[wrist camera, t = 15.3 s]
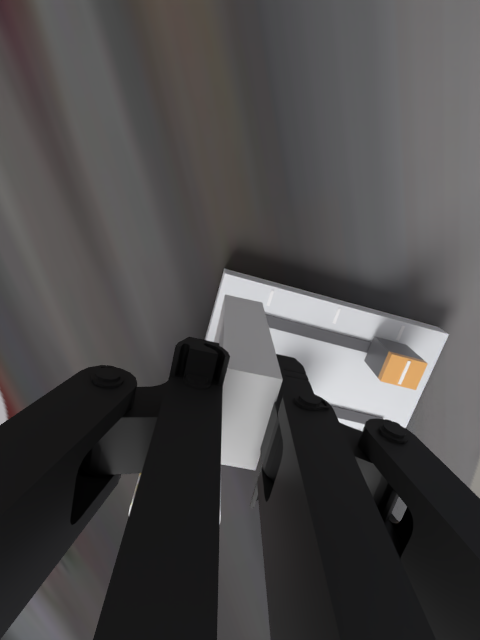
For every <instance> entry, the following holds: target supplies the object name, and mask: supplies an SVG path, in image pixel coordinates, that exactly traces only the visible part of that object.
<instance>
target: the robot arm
mask: <svg viewBox="0 0 480 640" xmlns="http://www.w3.org/2000/svg"><path fill="white" fill-rule="evenodd" d="M308 380H309V379H308V377H307V375H306V372H305V369H304V367H303V365H302V364H301V363H300V362H299V361H297V360H296V359H295V358H293V357H288V356H284V355H279V354H276V352H275V348H274V345H273V341H272V337H271V333H270V330H269V326H268V322H267V318H266V315H265V311H264V307H263V303H262V302H257V301H253V300H249V299H244V298H240V297H235V296H231V295H226V294H225V296H224V301H223V305H222V309H221V313H220V318H219V322H218V326H217V331H216V335H215V339H214V342H212V341H207V340H202V339H197V338H193V337H188V338H186V339H185V340H183V341H180V342H179V343H178V344H177V345H176V347H175V352H174V357H173V362H172V366H171V371H170V376H169V380H168V381H167V382H166V383H164V384H161V385H158V386H153V387H137V381H136V378H135V377H134V376H133V375H132V374H131V373H130V372H127V371H125V370H123V369H121V368H116V367H114V366H108V365H107V366H106V365H100V366H95V367H88V368H86V369H84V370H81V371H80V372H78V373H77V374H75V375H74V376H72V377H71V378H69V379H68V380H66V381H65V382H63V383H62V384H60V385H59V386H57V387H56V388H54V389H53V390H52V391H50V392H49V393H47V394H46V395H44V396H43V397H41V398H40V399H38V400H37V401H35V402H34V403H32V404H31V405H29V406H28V407H26V408H25V409H23V410H22V411H20V412H19V413H18V414H16V415H15V416H13V417H12V418H10V419H9V420H7V421H6V422H4V423H3V424H1V425H0V639H1V638H2V636H3V635H4V634H5V632H6V631H7V630H8V628H9V627H10V626H11V624H12V623H13V622H14V620H15V619H16V618H17V617H18V615H19V614H20V613H21V611H22V610H23V609H24V607H25V606H26V605H27V603H28V602H29V601H30V599H31V598H32V597H33V595H34V594H35V593H36V591H37V590H38V589H39V587H40V586H41V585H42V583H43V582H44V581H45V579H46V578H47V577H48V575H49V574H50V573H51V571H52V570H53V569H54V567H55V566H56V565H57V564H58V562H59V561H60V560H61V558H62V557H63V556H64V554H65V553H66V552H67V550H68V549H69V548H70V546H71V545H72V544H73V542H74V541H75V540H76V538H77V537H78V536H79V534H80V533H81V532H82V530H83V529H84V528H85V526H86V525H87V524H88V522H89V521H90V520H91V518H92V517H93V516H94V514H95V513H96V512H97V511H98V509H99V508H100V507H101V505H102V504H103V503H104V501H105V500H106V499H107V497H108V496H109V495H110V493H111V492H112V491H113V489H114V488H115V487H116V485H117V484H118V482H119V479H120V477H121V474H131V473H141V476H140V480H139V483H138V487H137V490H136V494H135V497H134V500H133V504H132V507H131V511H130V514H129V518H128V521H127V525H126V528H125V531H124V535H123V538H122V542H121V545H120V549H119V552H118V556H117V559H116V563H115V566H114V569H113V573H112V576H111V580H110V583H109V587H108V590H107V594H106V597H105V600H104V604H103V607H102V611H101V614H100V618H99V621H98V625H97V628H96V632H95V635H94V638H93V640H217V609H218V566H219V523H220V480H221V464H223V465H229V466H234V467H240V468H245V469H251V470H256V467H257V464H258V460H259V457H260V454H261V460H262V466H261V470H260V473H259V476H258V480H257V483H256V486H255V489H254V493H253V496H252V499H251V503H250V507H251V508H254V506H255V503H256V501H257V500H259V512H260V523H261V534H262V546H263V557H264V568H265V580H266V591H267V602H268V614H269V625H270V636H271V640H480V498H478V497H477V496H476V495H475V494H474V493H473V492H472V491H471V490H470V489H469V488H468V487H467V486H466V485H465V484H464V483H463V482H462V481H461V480H460V479H459V478H458V477H457V476H456V475H455V474H454V473H453V472H452V471H451V470H450V469H449V468H448V467H447V466H446V465H445V464H444V463H443V462H442V461H441V460H440V459H439V458H438V457H437V456H435V455H434V454H433V453H432V452H431V451H430V450H429V449H428V448H427V447H426V446H425V445H424V444H423V443H422V442H421V441H420V440H419V439H418V438H417V437H416V436H415V435H414V434H412V433H411V432H410V431H409V430H407V429H406V428H404V427H402V426H400V424H398V423H396V422H394V421H393V422H392V421H391V420H388V419H385V420H384V419H379V418H375V419H369V420H368V421H366V423H365V425H364V428H363V431H360V430H357V429H355V428H352V427H349V426H347V425H344V424H342V423H340V422H339V420H338V418H337V416H336V414H335V411H334V409H333V408H332V406H331V405H330V404H329V403H328V402H327V401H326V400H324V399H323V398H321V397H319V396H317V395H315V394H314V392H313V390H312V387H311V384H310V382H309V381H308ZM398 497H400V498H401V499H402V500H403V502H404V503H405V504H406V505H407V509H406V511H405V513H404V515H403V518H402V520H401V521H400V522H399V521H398V520H396V518H395V517H394V516H393V514H392V511H393V508H394V506H395V504H396V502H397V499H398Z"/></svg>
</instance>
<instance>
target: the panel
mask: <svg viewBox="0 0 480 640" xmlns="http://www.w3.org/2000/svg"><path fill="white" fill-rule="evenodd" d="M225 294H226V295H231V296H235V297H240V298H244V299H249V300H253V301H257V302H262V303H263V307H264V311H265V315H266V318H267V322H268V326H269V330H270V333H271V337H272V341H273V345H274V348H275V352H276V354H279V355H284V356H288V357H293V358H295V359H296V360H297V361H299V362H300V363H301V364H302V365H303V367H304V369H305V372H306V375H307V377H308V379H309V380H308V381H309V382H310V384H311V387H312V390H313V392H314V394H315V395H317V396H319V397H321V398H323V399H324V400H326V401H327V402H328V403H329V404H330V405H331V406H332V408H333V409H334V411H335V414H336V416H337V418H338V420H339V422H340V423H342V424H344V425H347V426H349V427H352V428H355V429H357V430H360V431H363V428H364V425H365V423H366V421H368V420H369V419H375V418H379V419H384V420H385V419H388V420H391V421H392V422H393V421H394V422H396V423H398V424H400V426H402V427H404V428H406V426H407V424H408V422H409V420H410V417H411V415H412V413H413V411H414V409H415V407H416V405H417V402H418V400H419V398H420V396H421V394H422V392H423V389H424V387H425V385H426V383H427V381H428V379H429V376H430V374H431V372H432V370H433V368H434V366H435V363H436V361H437V359H438V357H439V355H440V353H441V350H442V348H443V346H444V344H445V342H446V340H447V337H448V335H449V334H448V333H446V332H445V331H443V330H442V329H440V328H439V327H437V326H433V325H430V324H426V323H422V322H419V321H415V320H411V319H408V318H404V317H400V316H397V315H393V314H389V313H386V312H382V311H378V310H375V309H371V308H367V307H364V306H360V305H356V304H353V303H349V302H345V301H342V300H338V299H334V298H331V297H327V296H323V295H320V294H316V293H312V292H309V291H305V290H302V289H298V288H294V287H291V286H287V285H283V284H280V283H276V282H272V281H269V280H265V279H261V278H258V277H254V276H250V275H247V274H243V273H239V272H236V271H232V270H228V269H225V268H224V271H223V275H222V279H221V282H220V286H219V289H218V293H217V297H216V300H215V304H214V308H213V311H212V315H211V318H210V322H209V326H208V329H207V333H206V337H205V340H207V341H212V342H214V339H215V335H216V331H217V326H218V322H219V318H220V313H221V309H222V305H223V301H224V296H225ZM374 336H375V337H379V338H383V339H387V340H391V341H394V342H398V343H402V344H406V345H407V346H409V347H410V348H411V349H412V350H413V351H414V352H415V353H416V354H418V355H419V356H420V357H421V358H422V359H423V360H424V361H426V362H427V363H428V365H427V367H426V369H425V371H424V373H423V375H422V378H421V380H420V382H419V384H418V386H417V389H416V390H413V389H409V388H405V387H401V386H397V385H393V384H389V383H385V382H381V381H380V380H379V379H378V378H377V376H376V375H375V374H374V373H373V371H372V370H371V369H370V368H369V366H368V365H367V364H366V362H365V361H364V360H365V357H366V355H367V352H368V350H369V347H370V345H371V342H372V340H373V338H374Z"/></svg>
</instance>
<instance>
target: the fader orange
mask: <svg viewBox="0 0 480 640" xmlns="http://www.w3.org/2000/svg"><path fill="white" fill-rule="evenodd" d="M364 361H365V362H366V364H367V365H368V366H369V368H370V369H371V370H372V371H373V373H374V374H375V375H376V376H377V378H378V379H379V380H380V381H381V382H385V383H389V384H393V385H397V386H401V387H405V388H409V389H413V390H416V389H417V386H418V384H419V382H420V380H421V378H422V375H423V373H424V371H425V369H426V367H427V365H428V363H427V362H426V361H424V360H423V359H422V358H421V357H420V356H419V355H418V354H416V353H415V352H414V351H413V350H412V349H411V348H410V347H409V346H407V345H406V344H402V343H398V342H394V341H391V340H387V339H383V338H379V337H375V336H374V338H373V340H372V342H371V345H370V347H369V350H368V352H367V355H366V357H365V360H364Z"/></svg>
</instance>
